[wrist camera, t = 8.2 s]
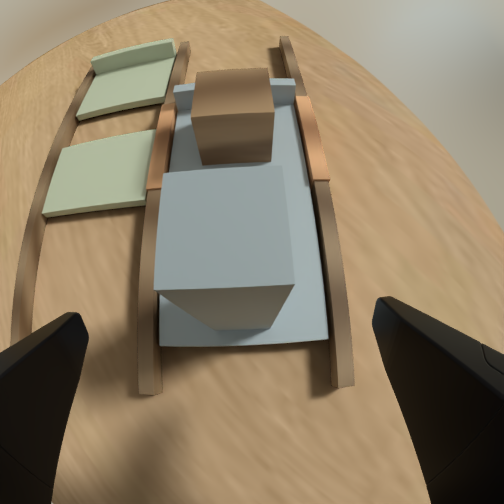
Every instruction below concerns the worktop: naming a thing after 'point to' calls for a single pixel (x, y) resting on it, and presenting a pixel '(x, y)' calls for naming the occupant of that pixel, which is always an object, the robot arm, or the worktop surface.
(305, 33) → the worktop surface
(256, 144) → the walnut cube
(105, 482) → the worktop surface
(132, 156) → the broken strip
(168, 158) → the lane rails
